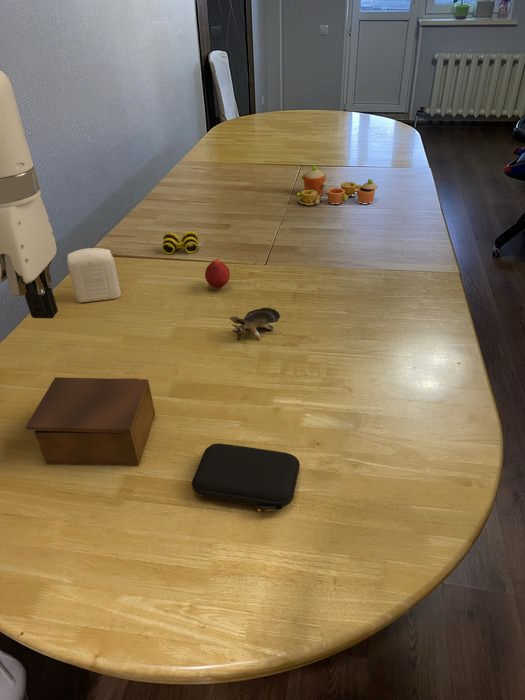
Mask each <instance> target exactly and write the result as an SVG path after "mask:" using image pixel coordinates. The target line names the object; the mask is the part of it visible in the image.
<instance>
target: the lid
mask: <svg viewBox="0 0 525 700" xmlns="http://www.w3.org/2000/svg"><path fill="white" fill-rule="evenodd" d="M148 384H149V385H150V382H149V379H148V378H147V379H144V378H142V379H141V378H136V379H113V378H104V377H102V378H101V377H65V376H64V377H59V376H55V377H54V378H53V380H52V382H51V384H50V385H49V387H48V388H47V390H46V392H45V394H44V395H43V397H42V398H41V400H40V402H39V403H38V405H37V407H36V409H34V412H33V413H32V415H31V417H30V418H29V420H28V422H27V423H26V424H25V429H26V431H32V432H33V431H34V432H35V431H65V432H101V433H131V431H132V429H133V426H134V423H135V420H136V417H137V415H138V412H139V409H140V406H141V404H142V401H143V398H144V395H145V392H146V390H147V387H148Z"/></svg>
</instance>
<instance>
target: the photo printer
mask: <svg viewBox="0 0 525 700" xmlns="http://www.w3.org/2000/svg"><path fill="white" fill-rule="evenodd" d="M66 258H67V260H66V264H67V268H68V271H69V272H68V273H69V276H70V280H71V283H72V284H71V285H72V287H73V292H74V295H75V299H76V302H78V303H89V302H98V301H106V300H107V301H108V300H114V299H118V298H120V297H121V296H122V292H121V288H120V283H119V278H118V273H117V267H116V262H115V258H114V256H113V254H112V252H111V250H110V249H108V248H103V247H87V248H82V249H78V250H74V251H72V252H70V253H68V254H67V256H66Z"/></svg>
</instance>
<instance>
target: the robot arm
mask: <svg viewBox="0 0 525 700" xmlns="http://www.w3.org/2000/svg"><path fill="white" fill-rule="evenodd" d="M41 194H42V191H41V188H40V184H39V181H38V177H37V173H36V170H35V166H34V163H33V159H32V155H31V151H30V148H29V144H28V140H27V137H26V133H25V129H24V126H23V122H22V118H21V115H20V111H19V107H18V104H17V100H16V96H15V93H14V89H13V86H12V83H11V80H10V78H9V77H8V75H7V74H6V73H5V72H3V71H2V70H0V284H2V283H4V282H5V281H6V280H7V285H8V290H9V295H10V296H12V297H13V296H16V297H19V296H20V297H21V296H24V298H25V301H26V305H27V307H28V310H29V313H30V316H31V318H33V319H54V318H55V316H56V314H58V312H59V308H58V306H57V303H56V298H55V296H54V292H53V288H52V287H51V286H52V283H53V281H52V276H51V271H50V266H51V264H52V261H53V259H54V258H55V257H56V254H57V251H58V249H57V243H56V239H55V235H54V231H53V227H52V225H51V221H50V218H49V215H48V212H47V210H46V207H45V203H44V202H43V199H42V196H41Z"/></svg>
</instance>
